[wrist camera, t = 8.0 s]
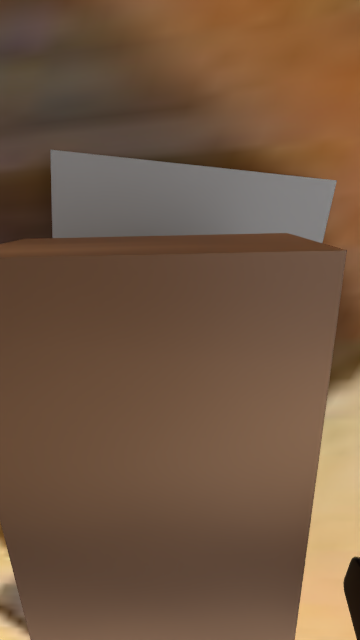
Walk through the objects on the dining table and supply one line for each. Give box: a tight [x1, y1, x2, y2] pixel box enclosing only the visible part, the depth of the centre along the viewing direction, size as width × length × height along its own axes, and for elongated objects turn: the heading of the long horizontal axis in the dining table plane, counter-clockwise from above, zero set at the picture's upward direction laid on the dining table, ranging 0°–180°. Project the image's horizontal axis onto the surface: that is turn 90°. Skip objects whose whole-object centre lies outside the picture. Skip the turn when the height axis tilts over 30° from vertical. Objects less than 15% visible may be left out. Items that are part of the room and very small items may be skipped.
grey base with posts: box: [51, 150, 337, 243], centre depth 13 cm, size 10×18×6 cm, turn 174°
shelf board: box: [0, 233, 347, 640], centre depth 9 cm, size 14×6×3 cm, turn 1°
